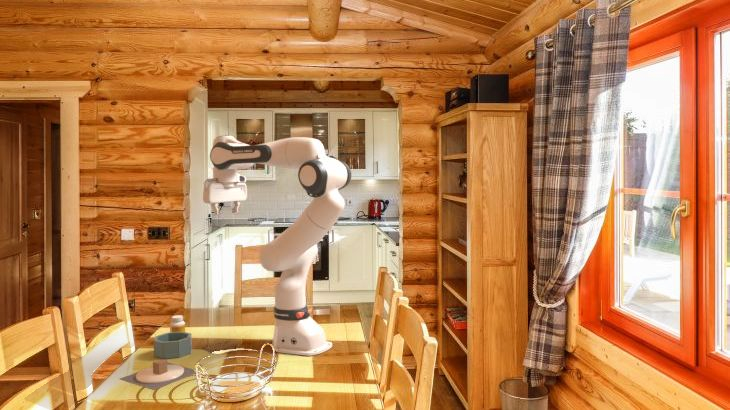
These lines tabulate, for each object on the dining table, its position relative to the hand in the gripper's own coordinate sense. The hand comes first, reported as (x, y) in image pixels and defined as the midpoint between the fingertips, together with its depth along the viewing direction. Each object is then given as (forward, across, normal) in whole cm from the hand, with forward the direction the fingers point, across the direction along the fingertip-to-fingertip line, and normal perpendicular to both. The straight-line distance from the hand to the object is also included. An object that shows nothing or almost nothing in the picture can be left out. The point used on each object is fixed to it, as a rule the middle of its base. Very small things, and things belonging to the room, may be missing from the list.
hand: (226, 213), depth 209 cm
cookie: (+48, -14, -11) cm, 51 cm away
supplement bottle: (+47, -17, +10) cm, 51 cm away
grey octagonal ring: (+47, -27, 0) cm, 54 cm away
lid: (+47, -43, -13) cm, 65 cm away
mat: (+47, -43, -13) cm, 65 cm away
